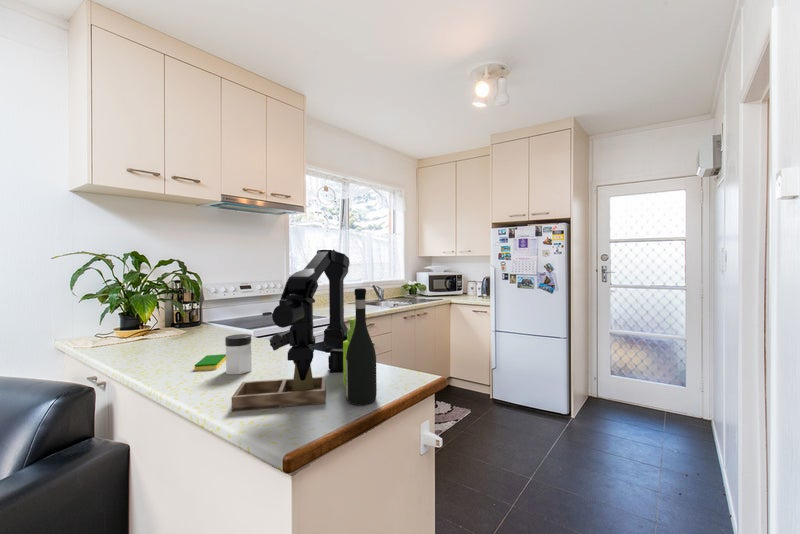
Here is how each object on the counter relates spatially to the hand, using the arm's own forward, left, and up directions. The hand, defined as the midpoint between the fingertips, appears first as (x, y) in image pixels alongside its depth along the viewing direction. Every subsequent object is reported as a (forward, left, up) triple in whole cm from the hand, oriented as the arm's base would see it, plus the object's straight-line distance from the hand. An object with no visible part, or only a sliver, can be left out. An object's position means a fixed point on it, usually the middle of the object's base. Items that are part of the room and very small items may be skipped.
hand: (303, 377), depth 101 cm
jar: (+24, -30, -6) cm, 38 cm away
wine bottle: (-15, +6, -6) cm, 18 cm away
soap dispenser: (-14, -8, -6) cm, 17 cm away
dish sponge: (+36, -41, -6) cm, 55 cm away
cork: (0, 0, -4) cm, 4 cm away
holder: (+6, 0, -5) cm, 8 cm away
